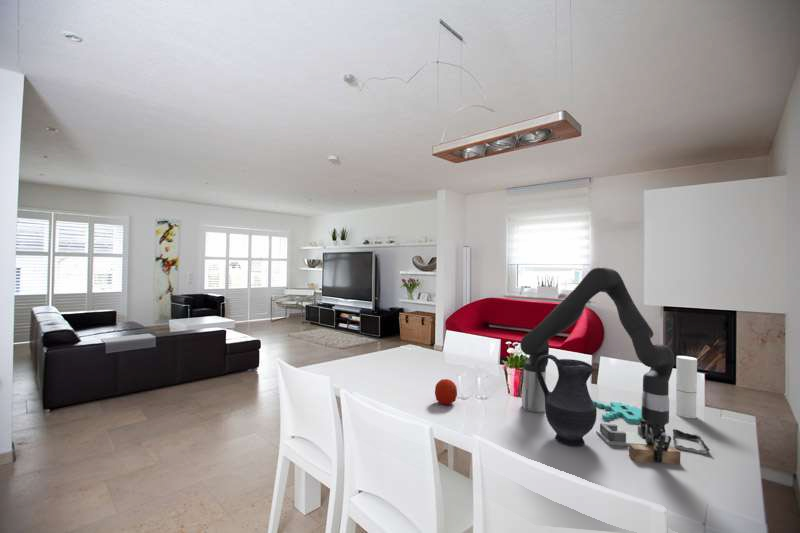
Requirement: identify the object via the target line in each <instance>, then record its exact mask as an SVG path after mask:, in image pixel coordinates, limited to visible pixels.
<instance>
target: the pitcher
mask: <svg viewBox="0 0 800 533" xmlns="http://www.w3.org/2000/svg"><path fill="white" fill-rule="evenodd" d="M547 358H548V360H551V361H552V362H554V364H555V365H556V368H557V373H558V375H557V376H558V377H557V381H556V384H555V386H554V388H553V390H552V391H550V390H549V388H548V386H547V384H546V383H545V381H544V379H543V376H542V374H541V371H540V362H541V361H542V360H544V359H547ZM535 370H536V374H537V377H538V380H539V383H540V385H541V388H542V390H543V392H544V396H545V411H544V412H545V417H546V419H547V422H548V424H549V426H550V427H551V428H552V429H553V431H554V432H555V433H556V434H555V436H554V438H555V441H556V442H558V443H559V444H562V445H564V446H568V447H573V448H577V447H582V446H584V445H585V443H586V442H585V440H584V438H583V437H585V436H587V434H588V433H590V432H591V431H592V429H593V428H594V426H595V424H596V421H597V412H598V411H597V406H595V404H594V402H593V401H592V400H593V399H592V397H591V395H590V392H589V390H588V389H589V388H588V385H587V382H588V380H589V379H590V376H592V374H593V373H594V372H595V370H596V367H594V366H593V365H592V364H590V363H589V362H586V361H583V360H579V359H572V358H571V359H569V358H561V359H558V357H556V356H555V355H553V354H549V355H543V356H541V357H539V358H538V359H537V361H536V364H535Z"/></svg>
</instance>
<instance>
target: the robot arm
mask: <svg viewBox="0 0 800 533" xmlns="http://www.w3.org/2000/svg"><path fill="white" fill-rule="evenodd" d="M628 291H629V290H628V288H627V287H626V284H625V282H624V280H623V279H622V276H621V274H620V273H619V272H618V271H617V270H615V269H613V268H608V267H603V266H597V267H593V268H592V269H590V270H589V271H588V272H587V273H586V275H585V276H584V277H583V279H581V281H579V284H578V285H577V286H576V287H575V288H574V289H573V290H572V291H571V292H570V293H569V294H568V295H567V296H566V297H565V298H564V299H563V300H562V301H561V302H559V304H558V305H556V306H555V307H554V308H553V310H552V311H551V312H550V313H549V314H548V315H546V316H545V318H544V319H543V320H542V321H541V322H540V323H539V324H538V325H537V326H535V327H534V328H533V329H531V330H530V331H528V333H526V334H525V335H524V336H523V337H522V338H521V341H520V343H519V346H520V350H521V351H522V353H524V354H525V355H527V356H529V357H528V358H527V359H526V360H525V361H524V363H523V383H522V385H521V386H522V387H521V406H522V408H523V410H524V411H528V412H533V413H543V412H545V396H544V392H543V390H542V388H541V385H540V383H539V380H538V377H537V374H536V370H535V364H536V361H537V359H538V358H539V357H541V356H543V355H550V354H549V352H550V342H549V340H550V339H551V338H553V337H555V336H557V335H558V334H561V333H563V332H565V331H566V330H568V329H569V328H570V327H572V325H573V324H575V323H576V322H577V321H578V320H579V319H580V318H581V317H582V315H583V313H584V310H585V307H586V305H587V303H588V302H589V301H590V300H591V299H592V298H593V297H594V296H596V295H597V294H599V293H600V292H601V293H605V294H607V296H608V297H609V298H610V299H611V300H612V301H613V303H614V305H615V307H616V310H617V314H618V319H619V321H620V324H621V325H622V327H623V329H624V330H625V332H626V333H627V335H628V336H629V338H630V339H631V343H632V345H633V348H634V352H635V355H636V356H637V358H638V360H639V361H640V362H641V363H642V364H643V365H644V366H646V367H649V368H650V369H649V371H648V372H646V373H644V374H643V377H642V393H641V409H642V411H641V417H642V418H643V419H644V420H640V425H639V426H641V431H642V436H643V439H645V441H646V443H647V445H650V446H654V461H655V462H654V463H657V462H662V452H663V451H664V452H667V451H668V448H669V445H670V446H671V441H672V437H671V435H667V433H666V428H665V426H666V425H667V424H669V423H670V398H669V396H670V395H669V392H670V391H669V390H670V389H669V387H670V385H669V381H670V378H671V376H672V373H673V368H674V366H675V355H674V352H673V351H672V349H671V348H670V347H669V346H667V345H665V344H653V342H652V338H653V337H654V331H653V329H652V327H651V326H650V325H649V323H648V322H647V321H646V319H645V318H644V316H643V314H642V313H641V312H640V310H639V309H638V307H637V306H636V304H635V302H634V301H633V299H632V297H631V294H630V293H629V292H628ZM548 364H549V358H547V359H544V360H542V361H541V362H540V371H541V374H542V376H543V379H544V381H545V383H546V378H547V376H546V375H547V372H546V371H547V367H548ZM656 439H660V440H656ZM657 443H659V444H658V447H657Z"/></svg>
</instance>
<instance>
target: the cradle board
mask: <svg viewBox="0 0 800 533" xmlns="http://www.w3.org/2000/svg"><path fill="white" fill-rule="evenodd" d="M624 432H625V433H626V442H620V441H609V440H608V439H607V438H606V437H605V436H604V435H603V434H602V433H601V432H600V429H596V430H595V434H597V435H598V436H599V437H600V438H601V439H602V440H603V441H604V443H606V444H607V445H609V446H620V447H621V446H622V447H623V446H624V447H629V444H637V445H647V443H646V441H645V439H643V436H641V435H639V434H638V432H632V431H624ZM657 446H658V444H657ZM669 447H672V445H671V444H670V445H669Z"/></svg>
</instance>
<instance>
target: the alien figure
mask: <svg viewBox="0 0 800 533" xmlns="http://www.w3.org/2000/svg"><path fill="white" fill-rule="evenodd" d="M592 401H593V402H594V404H595V406H596V408H598V409H603V408H604V409H605V410H604V409H603V410H604V411H609V412H606V414H605V413H604V414H601V419H602V420H603V421H604V422H605V421H606V422H610V421H611V420H614V419H618V417H620V418H622V419H623V420H624V421H625V422H626V423H628V424H637V425H639V424H640V420H644V419H643V418H642V417H641V411H642V408H637V406H631V405H629V404H624V403H622V402H615V401H614V402H613V401H610V404H605V403H603V402H600V401H599V402H597V401H596V400H595V399H594V400H593V399H592Z"/></svg>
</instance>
